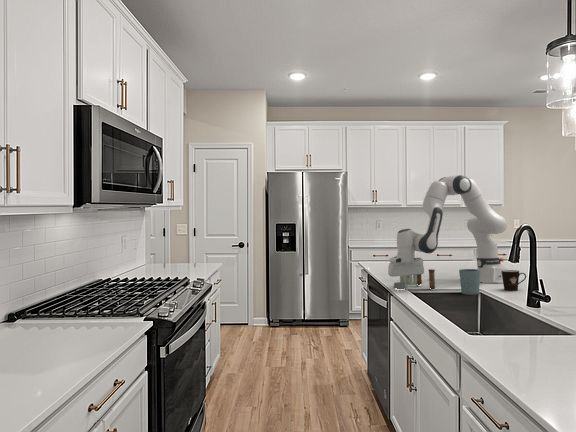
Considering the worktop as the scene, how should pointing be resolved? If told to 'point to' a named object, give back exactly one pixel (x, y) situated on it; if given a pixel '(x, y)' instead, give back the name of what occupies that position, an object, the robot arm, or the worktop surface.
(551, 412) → the worktop surface
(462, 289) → the teal cup
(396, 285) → the rubber block
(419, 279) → the hinge post
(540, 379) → the worktop surface
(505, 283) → the coffee mug
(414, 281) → the block
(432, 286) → the post
